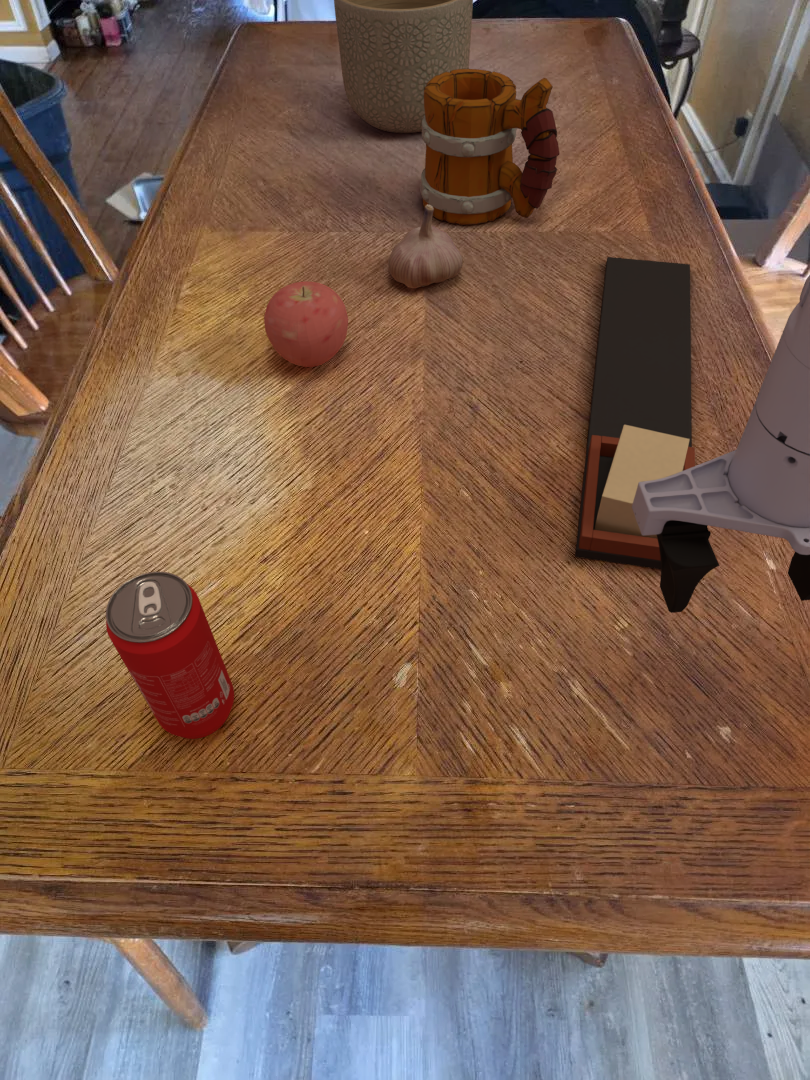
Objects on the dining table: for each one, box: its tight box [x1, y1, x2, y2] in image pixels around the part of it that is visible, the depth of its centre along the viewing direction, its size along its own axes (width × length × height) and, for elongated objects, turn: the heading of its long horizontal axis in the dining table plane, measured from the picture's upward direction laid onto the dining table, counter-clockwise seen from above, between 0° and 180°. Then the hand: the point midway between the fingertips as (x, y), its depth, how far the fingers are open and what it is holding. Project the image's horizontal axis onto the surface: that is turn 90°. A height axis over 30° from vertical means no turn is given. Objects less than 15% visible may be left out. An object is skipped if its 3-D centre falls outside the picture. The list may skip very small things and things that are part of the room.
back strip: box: [574, 256, 696, 571], centre depth 72 cm, size 8×40×2 cm, turn 168°
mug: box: [419, 68, 560, 226], centre depth 88 cm, size 11×16×15 cm, turn 56°
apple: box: [263, 280, 349, 368], centre depth 74 cm, size 7×7×8 cm
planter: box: [333, 0, 474, 134], centre depth 103 cm, size 17×17×15 cm
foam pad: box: [594, 425, 690, 539], centre depth 61 cm, size 5×8×4 cm, turn 159°
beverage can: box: [105, 571, 235, 740], centre depth 49 cm, size 5×5×12 cm
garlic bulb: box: [387, 204, 464, 289], centre depth 82 cm, size 8×7×8 cm
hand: (735, 592), depth 47 cm, fingers open, 7 cm apart
